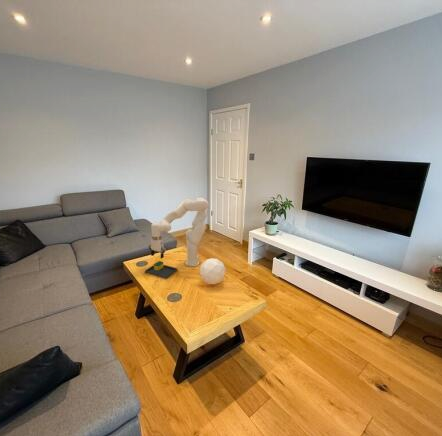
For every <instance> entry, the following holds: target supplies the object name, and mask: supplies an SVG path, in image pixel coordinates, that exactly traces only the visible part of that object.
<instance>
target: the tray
mask: <svg viewBox="0 0 442 436" xmlns="http://www.w3.org/2000/svg"><path fill="white" fill-rule="evenodd" d="M177 271H178V268H177V267H173V266H169V265H166V264H163V268H162V269H160V270H159V271H158V270H154V264H153V265H152V266H150V267H148V268H147V269H145V270H144V273H145V274H148V275H152V276H155V277H159V278H162V279H165V280H167V279H168V278H169V277H170V276H172V275H173V274H174V273H176V272H177Z"/></svg>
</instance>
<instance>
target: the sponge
mask: <svg viewBox="0 0 442 436" xmlns="http://www.w3.org/2000/svg"><path fill="white" fill-rule="evenodd" d="M153 265H154V270H158V271H159V270H160V269H162V268H163V265H164V261H162V260H158V261H156V262H155V263H153Z"/></svg>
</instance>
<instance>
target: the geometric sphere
mask: <svg viewBox="0 0 442 436" xmlns="http://www.w3.org/2000/svg"><path fill="white" fill-rule="evenodd" d="M226 270H227V269H226V267H225V265H224V262H223V261H221V260H219V259H218V258H213V257H212V258H211V257H210V258H208V259H205V260H204V261H203V262H202V263H201V265H200V267H199V276H200V278H201V280H202V281H203V282H204V283H205V284H208V285H213V286H214V285H217V284H219V283H222V281H223V280H224V278H225V277H226Z"/></svg>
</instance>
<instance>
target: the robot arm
mask: <svg viewBox="0 0 442 436" xmlns="http://www.w3.org/2000/svg"><path fill="white" fill-rule="evenodd" d="M209 207H210V203H209V201H208V200H206V199H205V198H204V197H201V196H198V197H197V198H196V199H195V200H192V199H190V198H185V199H183V200H182V201H181V203H180V204H178V205H177V206H176V208H175V209H173V210H172V211H171V212H169V213H168V214H165V216H164V217H163V218H162V219H161V220H160V221H159V222H157V221H156V222H152V223H151V225H150V227H151V228H150V230H151V239H150V244H149V245H148V248H149V250H150V256H151V257H153V256H155V252H159V254H160V259H164V257H165V253H166V251H167V249H166V248H165V247H164V246H165V245H164V241H163V236H162V233H168V232H170V231H171V229H172V225H171V223H173V222H174V221H175V220H177V219H181V218H183V217H184V216H185V215H186V213H187V212H188V211H189V212H196V214H195V216H194V218H193V220H192V222H191V226H192V228H189V229H187V230H186V232H185V241H186V242H185V243H186V260H185V265H186V266H188V267H196V266H199V265H200V263H201V261H200V260H199V259H200V255H199V252H198V250H199V249H198V248H199V247H198V244H199V243H200V241H201V240H202V238H203V236H204V234H205V232H206V229H207V225H206V222H205V220H206V218H207V216H208V209H209Z"/></svg>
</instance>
